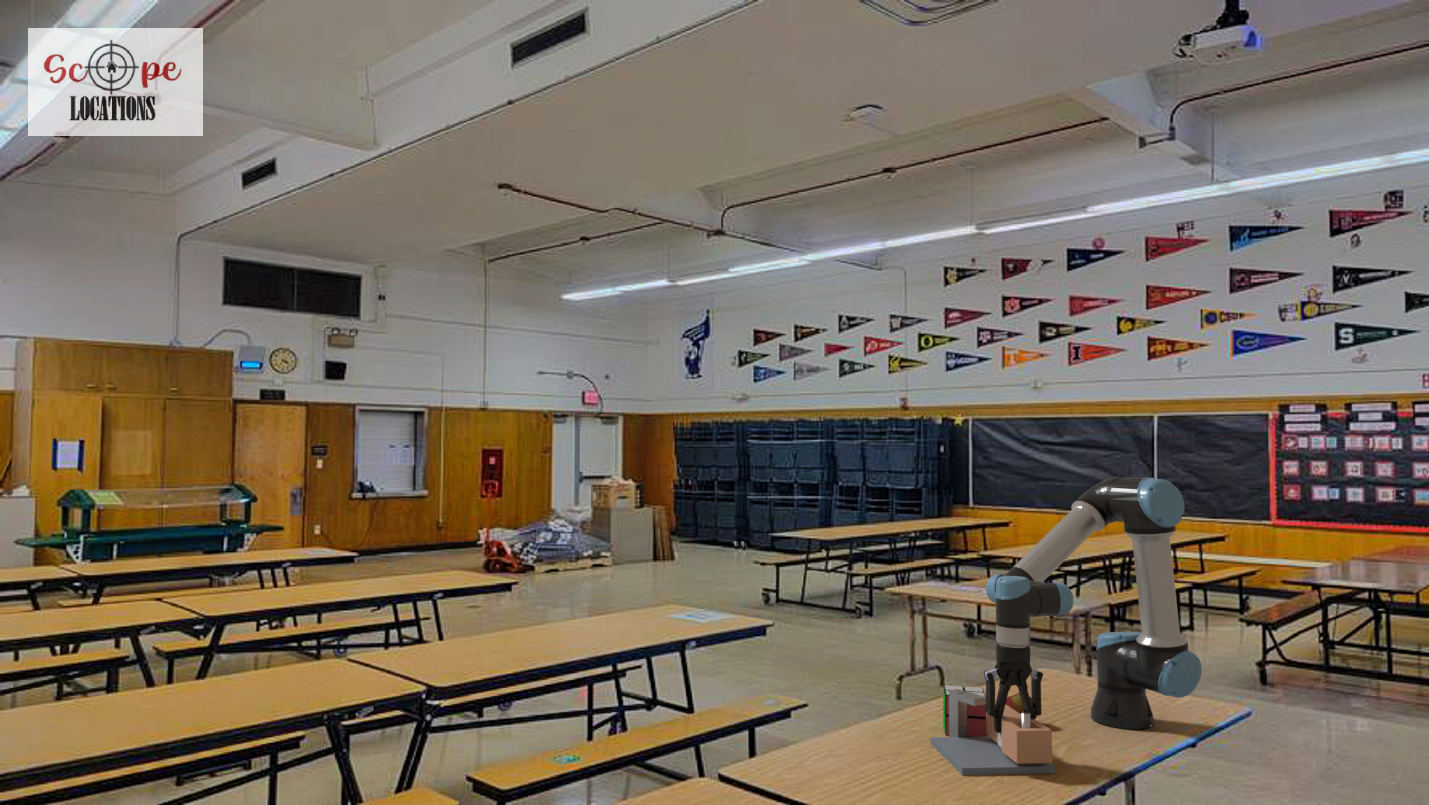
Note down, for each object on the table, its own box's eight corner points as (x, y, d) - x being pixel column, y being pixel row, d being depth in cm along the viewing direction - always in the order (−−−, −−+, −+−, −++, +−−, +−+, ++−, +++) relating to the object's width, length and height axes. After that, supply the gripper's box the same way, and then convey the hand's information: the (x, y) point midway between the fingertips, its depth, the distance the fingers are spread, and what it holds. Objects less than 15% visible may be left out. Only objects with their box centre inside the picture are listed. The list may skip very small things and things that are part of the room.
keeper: (959, 738, 221) (959, 688, 222) (987, 749, 213) (986, 697, 214) (947, 740, 219) (947, 690, 220) (974, 751, 212) (974, 699, 212)
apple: (1023, 718, 239) (1023, 687, 239) (1043, 727, 231) (1043, 695, 231) (998, 720, 236) (998, 689, 237) (1018, 730, 229) (1018, 698, 229)
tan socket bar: (980, 734, 217) (979, 705, 217) (1011, 733, 218) (1011, 704, 218) (1016, 763, 196) (1016, 731, 197) (1052, 762, 197) (1051, 730, 198)
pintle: (1028, 766, 202) (1028, 712, 202) (1032, 769, 200) (1031, 714, 200) (1019, 766, 202) (1019, 712, 202) (1023, 769, 200) (1023, 714, 200)
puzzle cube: (987, 739, 221) (986, 697, 222) (945, 736, 223) (945, 695, 224) (983, 727, 231) (983, 687, 232) (943, 724, 233) (943, 684, 234)
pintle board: (1014, 742, 219) (1014, 736, 219) (1054, 773, 198) (1054, 766, 198) (930, 743, 217) (930, 737, 217) (962, 775, 196) (962, 768, 196)
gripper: (1042, 640, 213) (1043, 740, 212) (969, 641, 211) (969, 742, 210) (1058, 647, 206) (1059, 751, 205) (981, 648, 204) (982, 752, 203)
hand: (1013, 746), depth 207 cm, fingers closed on tan socket bar, 5 cm apart
